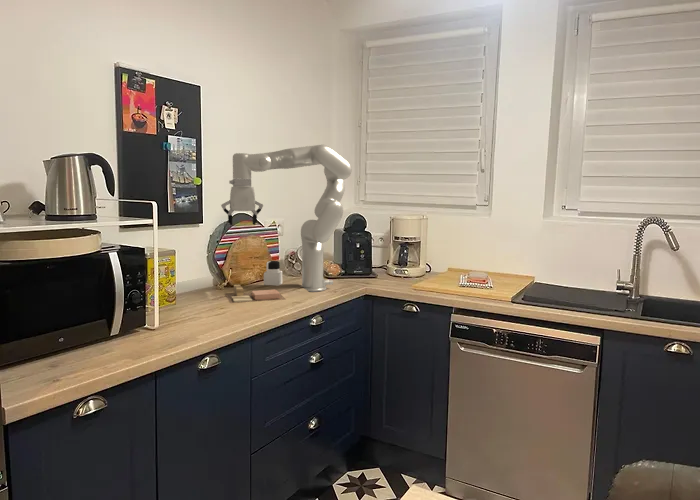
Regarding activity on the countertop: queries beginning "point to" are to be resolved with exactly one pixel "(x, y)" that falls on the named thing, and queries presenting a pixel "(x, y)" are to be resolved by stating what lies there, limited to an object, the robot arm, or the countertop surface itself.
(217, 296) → the countertop surface
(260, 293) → the tile
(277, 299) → the board
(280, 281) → the medicine bottle
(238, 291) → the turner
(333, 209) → the robot arm
